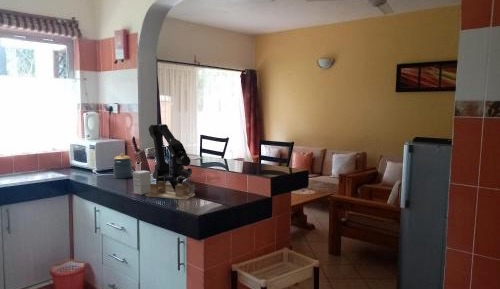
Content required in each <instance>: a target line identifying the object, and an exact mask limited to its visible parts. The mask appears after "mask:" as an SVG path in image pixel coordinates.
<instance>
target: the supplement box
mask: <svg viewBox="0 0 500 289" xmlns="http://www.w3.org/2000/svg"><path fill="white" fill-rule="evenodd" d="M151 176H152V175H151V171H149V170H137V171H132V180H133V194H136V195H146V194H148V193H151V190H150V184H152V178H151Z"/></svg>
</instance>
